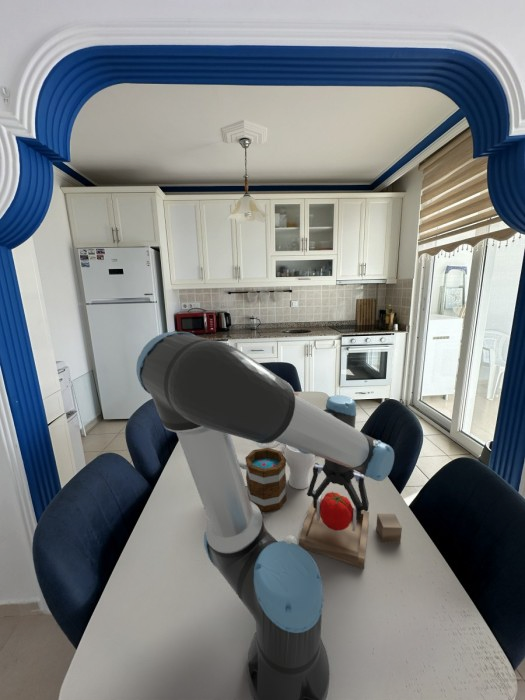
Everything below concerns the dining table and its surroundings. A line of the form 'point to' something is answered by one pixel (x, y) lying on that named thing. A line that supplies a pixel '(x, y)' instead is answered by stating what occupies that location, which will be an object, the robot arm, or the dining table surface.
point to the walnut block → (389, 528)
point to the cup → (298, 467)
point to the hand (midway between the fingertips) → (336, 522)
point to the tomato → (336, 511)
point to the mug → (266, 478)
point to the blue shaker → (290, 539)
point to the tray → (336, 539)
